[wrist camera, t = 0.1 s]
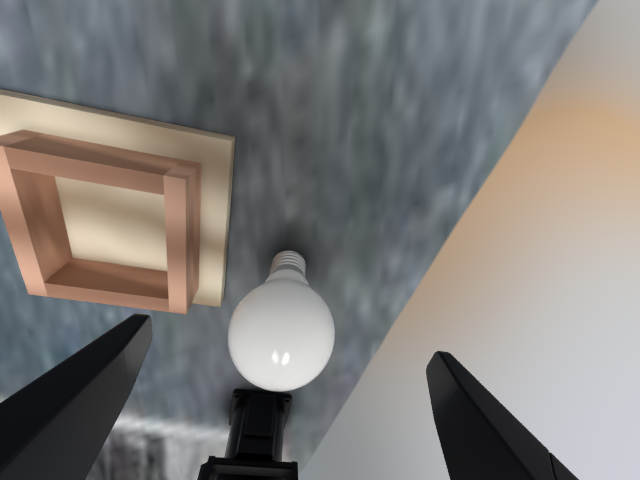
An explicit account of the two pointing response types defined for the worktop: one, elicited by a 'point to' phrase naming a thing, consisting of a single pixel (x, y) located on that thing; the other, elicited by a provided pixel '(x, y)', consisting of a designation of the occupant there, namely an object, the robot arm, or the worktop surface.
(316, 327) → the lightbulb
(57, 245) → the holder
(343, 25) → the worktop surface
